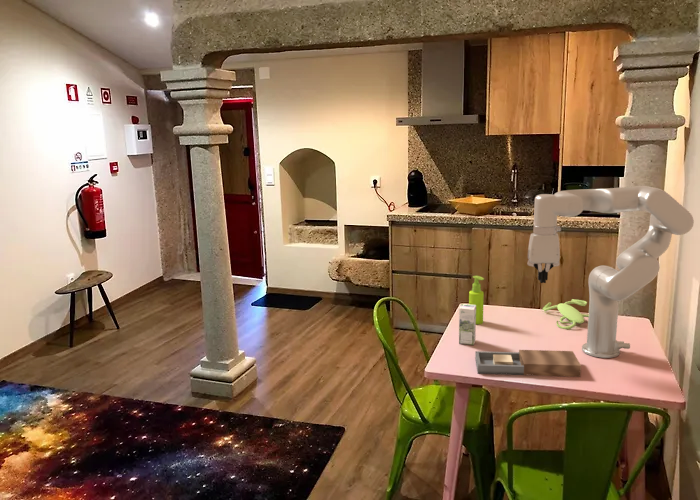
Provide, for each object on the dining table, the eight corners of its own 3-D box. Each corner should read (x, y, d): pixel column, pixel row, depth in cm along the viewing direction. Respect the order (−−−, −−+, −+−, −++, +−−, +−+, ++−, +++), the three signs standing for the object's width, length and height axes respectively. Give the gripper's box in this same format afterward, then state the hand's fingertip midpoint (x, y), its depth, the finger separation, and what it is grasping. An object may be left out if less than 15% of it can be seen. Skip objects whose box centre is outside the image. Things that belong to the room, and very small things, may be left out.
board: (572, 361, 203) (572, 351, 202) (580, 376, 191) (581, 365, 190) (518, 360, 205) (519, 349, 204) (523, 375, 194) (524, 363, 193)
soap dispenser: (476, 326, 239) (477, 279, 235) (465, 321, 245) (466, 275, 241) (487, 323, 242) (488, 277, 237) (476, 318, 248) (477, 273, 243)
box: (518, 360, 205) (519, 352, 205) (523, 375, 194) (524, 366, 193) (475, 359, 207) (475, 351, 207) (477, 373, 196) (477, 365, 195)
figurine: (581, 308, 258) (582, 296, 257) (606, 329, 232) (607, 316, 231) (539, 309, 258) (540, 297, 257) (559, 331, 232) (560, 317, 231)
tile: (493, 354, 203) (492, 360, 204) (494, 361, 197) (494, 368, 198) (510, 354, 202) (510, 361, 203) (513, 362, 196) (512, 368, 197)
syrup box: (475, 339, 225) (476, 304, 222) (473, 345, 219) (474, 309, 216) (460, 338, 227) (461, 303, 224) (458, 344, 221) (458, 307, 218)
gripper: (565, 228, 202) (562, 279, 206) (520, 228, 204) (519, 278, 208) (570, 232, 195) (567, 285, 199) (524, 232, 197) (522, 284, 201)
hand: (542, 281), depth 204 cm, fingers closed
